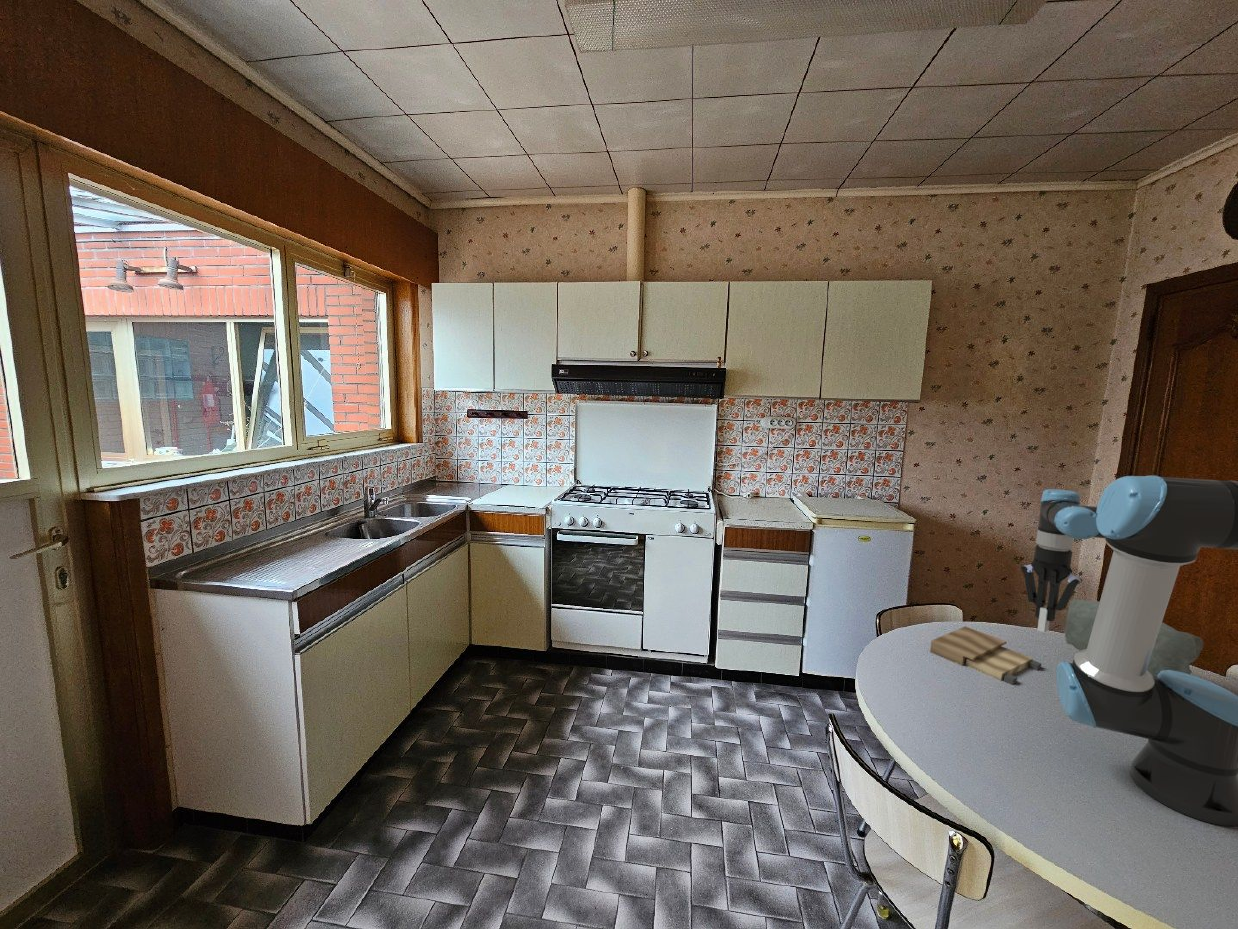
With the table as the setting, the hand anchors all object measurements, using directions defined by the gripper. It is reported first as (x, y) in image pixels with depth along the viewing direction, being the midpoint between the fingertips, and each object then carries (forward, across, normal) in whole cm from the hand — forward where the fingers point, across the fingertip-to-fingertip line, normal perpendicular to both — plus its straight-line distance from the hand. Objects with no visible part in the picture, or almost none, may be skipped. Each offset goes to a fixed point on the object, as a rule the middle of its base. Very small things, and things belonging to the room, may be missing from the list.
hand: (1042, 630), depth 137 cm
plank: (+16, +10, 0) cm, 19 cm away
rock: (+15, -11, -26) cm, 32 cm away
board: (+15, +17, 0) cm, 23 cm away
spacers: (+15, +3, 0) cm, 15 cm away
